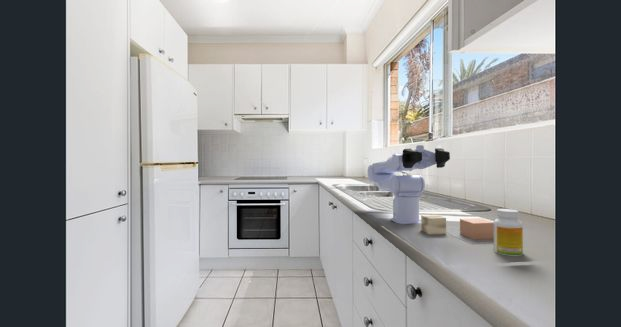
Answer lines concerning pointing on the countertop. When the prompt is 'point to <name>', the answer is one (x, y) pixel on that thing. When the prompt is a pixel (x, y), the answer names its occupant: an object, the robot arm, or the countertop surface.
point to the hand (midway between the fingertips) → (434, 155)
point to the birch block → (433, 224)
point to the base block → (477, 228)
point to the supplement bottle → (508, 233)
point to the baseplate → (472, 241)
